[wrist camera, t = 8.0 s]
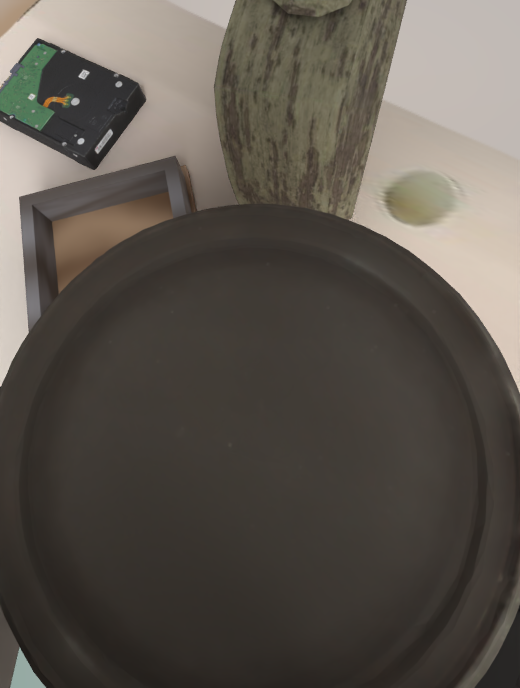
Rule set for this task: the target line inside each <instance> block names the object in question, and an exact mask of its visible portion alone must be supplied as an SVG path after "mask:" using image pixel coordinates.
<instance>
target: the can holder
mask: <svg viewBox="0 0 520 688" xmlns="http://www.w3.org/2000/svg"><path fill="white" fill-rule="evenodd" d="M19 201H20V215H21V229H22V243H23V257H24V272H25V286H26V300H27V314H28V328H29V332H30V331H31V329H32V327H33V326H34V325H35V323H36V322H37V321H38V319H39V318H40V317H41V315H42V314H43V313H44V311H45V310H46V309H47V307H48V306H49V305H50V304H51V303H52V302H53V301H54V299H55V298H56V297H57V296H58V295H59V294H60V292H61V291H62V290H63V289H64V288H65V287H66V286H67V285H68V284H69V283H70V282H71V280H73V279H74V278H75V277H76V276H77V275H78V274H80V273H81V272H82V271H83V270H84V269H86V268H87V267H88V266H89V265H90V264H91V263H92V262H93V261H94V260H95V259H96V258H98V257H99V256H101V255H103V254H104V253H105V252H106V251H107V250H109V249H110V248H112V247H113V246H115V245H117V244H118V243H120V242H122V241H123V240H125V239H127V238H129V237H131V236H133V235H135V234H136V233H138V232H140V231H142V230H143V229H146V228H149V227H151V226H154V225H156V224H158V223H161V222H163V221H166V220H169V219H173V218H176V217H179V216H182V215H185V214H189V213H193V212H196V207H195V202H194V197H193V192H192V186H191V181H190V176H189V172H188V170H187V168H186V165H184V166H180V165H179V163H178V161H177V159H176V157H175V156H173V157H170V158H166V159H162V160H158V161H154V162H151V163H147V164H143V165H139V166H135V167H132V168H128V169H124V170H120V171H116V172H112V173H109V174H105V175H101V176H97V177H93V178H90V179H86V180H82V181H78V182H74V183H71V184H67V185H63V186H59V187H55V188H52V189H48V190H44V191H40V192H36V193H32V194H29V195H25V196H21V197H19Z"/></svg>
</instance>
